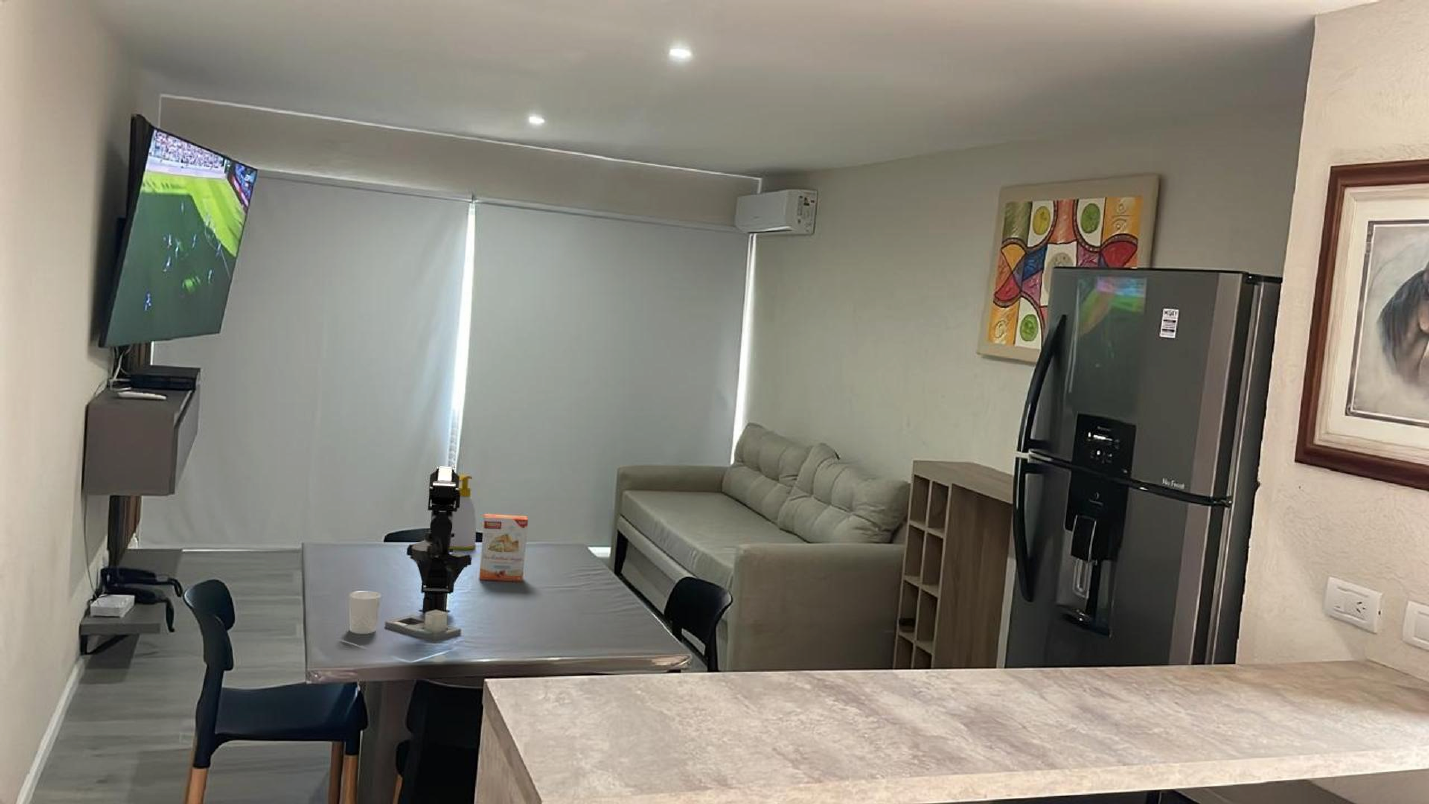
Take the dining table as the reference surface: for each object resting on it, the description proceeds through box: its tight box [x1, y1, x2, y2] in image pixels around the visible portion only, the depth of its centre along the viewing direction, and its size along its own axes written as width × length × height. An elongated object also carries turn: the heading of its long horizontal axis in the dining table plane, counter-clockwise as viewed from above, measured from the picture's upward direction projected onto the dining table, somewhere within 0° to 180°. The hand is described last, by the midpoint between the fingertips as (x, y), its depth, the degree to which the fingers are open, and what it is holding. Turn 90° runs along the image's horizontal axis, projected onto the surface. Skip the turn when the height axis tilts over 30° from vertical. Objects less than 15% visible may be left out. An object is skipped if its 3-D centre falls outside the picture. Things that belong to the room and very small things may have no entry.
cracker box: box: [478, 513, 529, 583], centre depth 369 cm, size 14×6×21 cm, turn 102°
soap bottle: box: [451, 474, 477, 551], centre depth 408 cm, size 11×12×26 cm
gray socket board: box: [384, 614, 462, 643], centre depth 306 cm, size 10×18×2 cm, turn 60°
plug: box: [424, 610, 448, 633], centre depth 303 cm, size 5×4×6 cm
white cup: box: [348, 590, 382, 635], centre depth 302 cm, size 8×8×10 cm
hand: (436, 586), depth 307 cm, fingers open, 9 cm apart
